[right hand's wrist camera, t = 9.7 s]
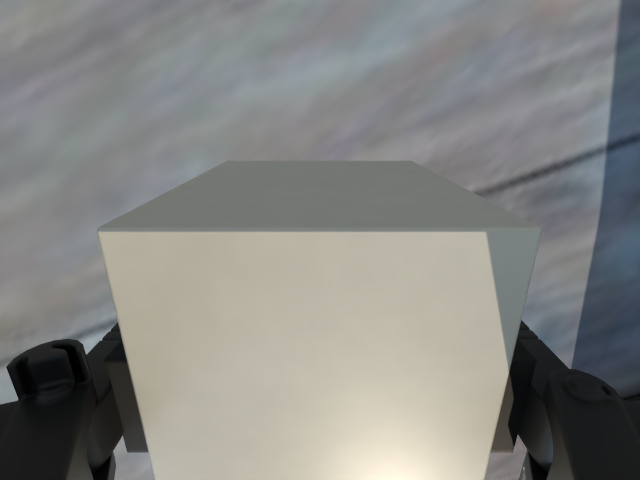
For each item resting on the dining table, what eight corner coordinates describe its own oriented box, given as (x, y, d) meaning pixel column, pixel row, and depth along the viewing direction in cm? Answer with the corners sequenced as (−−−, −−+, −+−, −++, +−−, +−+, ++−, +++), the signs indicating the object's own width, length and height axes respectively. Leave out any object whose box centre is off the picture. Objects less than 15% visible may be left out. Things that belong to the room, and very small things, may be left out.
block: (243, 344, 18) (172, 558, 9) (226, 160, 14) (93, 227, 6) (396, 344, 18) (466, 558, 9) (413, 160, 14) (545, 227, 6)
